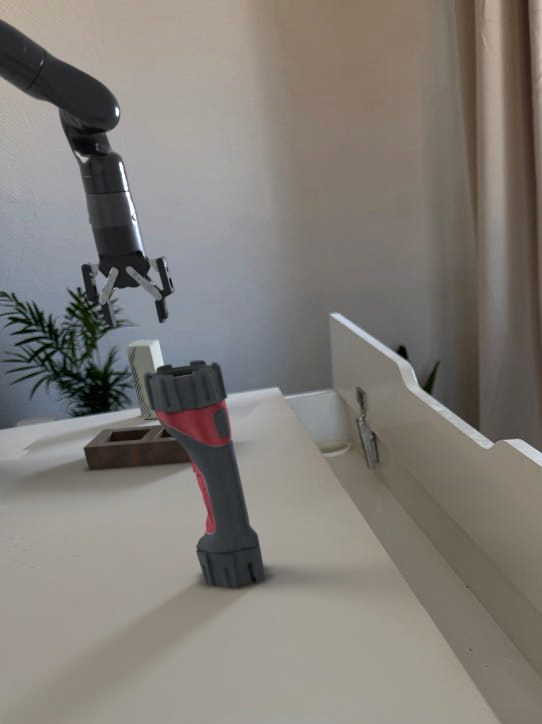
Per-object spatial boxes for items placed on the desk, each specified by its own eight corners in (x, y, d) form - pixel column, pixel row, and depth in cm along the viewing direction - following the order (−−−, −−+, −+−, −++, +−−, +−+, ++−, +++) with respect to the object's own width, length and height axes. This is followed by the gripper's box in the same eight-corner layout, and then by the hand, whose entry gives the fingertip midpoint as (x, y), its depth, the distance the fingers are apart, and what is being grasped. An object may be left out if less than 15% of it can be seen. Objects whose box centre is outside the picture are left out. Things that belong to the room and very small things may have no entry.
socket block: (89, 473, 146) (83, 447, 144) (109, 454, 155) (103, 429, 153) (210, 464, 146) (204, 437, 144) (222, 445, 155) (218, 420, 153)
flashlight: (186, 575, 108) (139, 365, 98) (256, 561, 110) (217, 354, 100) (194, 601, 102) (144, 380, 91) (269, 586, 104) (228, 368, 93)
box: (151, 412, 177) (135, 340, 172) (175, 411, 177) (159, 338, 171) (141, 420, 173) (124, 346, 167) (165, 419, 173) (149, 344, 167)
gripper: (163, 217, 164) (184, 317, 171) (78, 224, 163) (103, 324, 171) (152, 221, 157) (174, 325, 164) (63, 228, 157) (90, 332, 164)
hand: (138, 324), depth 168 cm, fingers open, 8 cm apart
